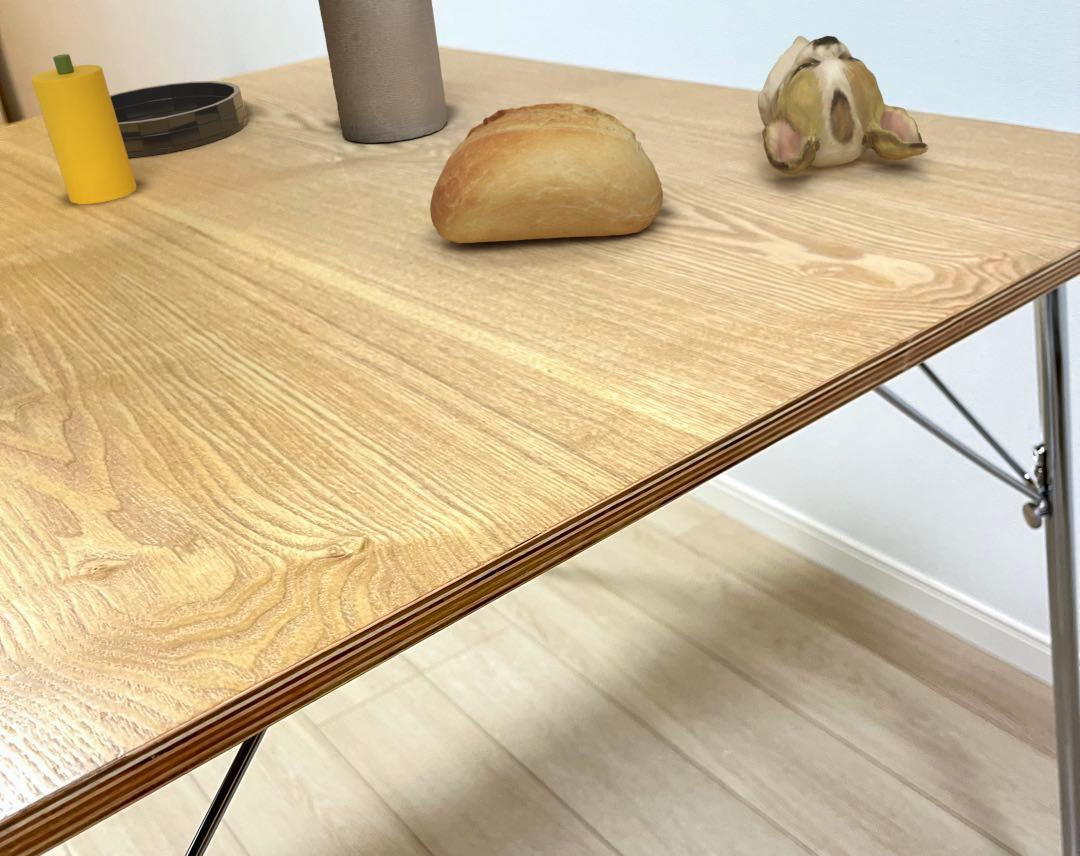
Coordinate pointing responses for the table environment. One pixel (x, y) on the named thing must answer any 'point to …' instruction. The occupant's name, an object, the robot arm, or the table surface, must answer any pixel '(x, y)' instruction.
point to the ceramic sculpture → (829, 110)
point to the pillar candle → (384, 68)
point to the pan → (177, 116)
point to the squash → (84, 132)
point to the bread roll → (546, 178)
